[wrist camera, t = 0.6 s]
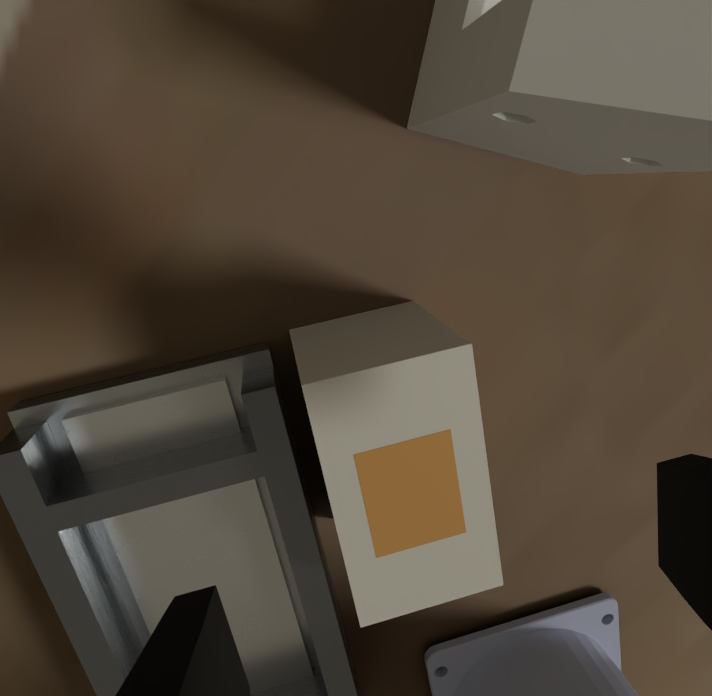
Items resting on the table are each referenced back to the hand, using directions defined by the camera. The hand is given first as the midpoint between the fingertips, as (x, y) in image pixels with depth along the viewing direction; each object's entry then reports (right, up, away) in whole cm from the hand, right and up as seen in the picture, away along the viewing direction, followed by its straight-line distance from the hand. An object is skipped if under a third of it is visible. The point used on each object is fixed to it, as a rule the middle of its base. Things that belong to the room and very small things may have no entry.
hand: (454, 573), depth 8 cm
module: (-1, +1, +9) cm, 10 cm away
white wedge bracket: (+3, +11, +7) cm, 14 cm away
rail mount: (-6, -4, +10) cm, 13 cm away
